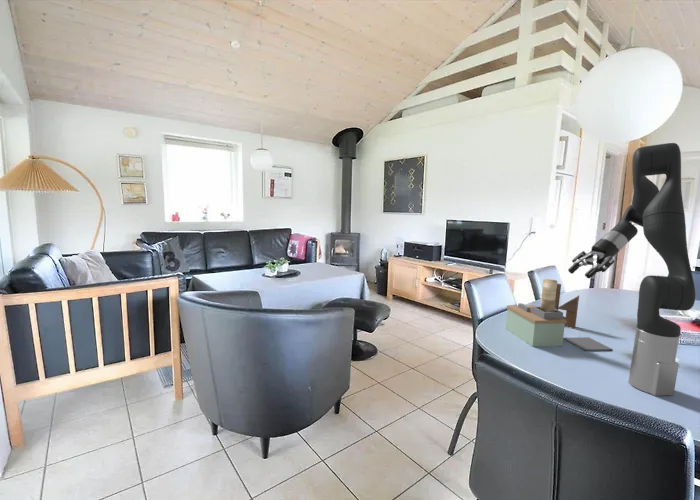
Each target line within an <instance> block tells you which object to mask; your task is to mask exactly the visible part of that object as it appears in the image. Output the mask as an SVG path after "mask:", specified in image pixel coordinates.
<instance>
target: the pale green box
mask: <svg viewBox="0 0 700 500" xmlns="http://www.w3.org/2000/svg"><path fill="white" fill-rule="evenodd" d="M506 309H507V312H506V323H505V329H506V330H507V331H508V332H510V333H511V334H513V336H516V337H518V338H519V339H520V340H521V341H523V342H525V343H527V344H528V345H530V346H531V347H534V348H536V347H563V342H564V339H563V338H564V334H565V327H566V326H565V324H566V322H567V320H565V319H563V316H564V312H563V311H562V310H559V309H558V310H556V309H554V312H544V311H542V310H540V306H537V305H528V304H527V305H526V304H525V303H518V304H516V305H508V304H507V305H506Z"/></svg>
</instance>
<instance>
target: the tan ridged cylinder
mask: <svg viewBox="0 0 700 500" xmlns="http://www.w3.org/2000/svg"><path fill="white" fill-rule="evenodd" d="M557 283H558V280H556V279H552V278H550V279H549V278H544V279H543V281H542V289H541V299H540V305H539V307H540V310H542V311H544V312H554V306H555V298H556V289H557Z"/></svg>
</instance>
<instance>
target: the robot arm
mask: <svg viewBox="0 0 700 500" xmlns="http://www.w3.org/2000/svg"><path fill="white" fill-rule="evenodd" d="M631 164H632V165H631V167H632V168H631V170H632V172H631V173H632V174H631V175H632V185H633V186H632V187H633V195H632V199H631V204H630V205H628V207H627V208H626V210H625V211H624V213H623V215H622V216H621V218H620V219H619V221H618V223H617V224H615V226H614V227H613V228H612V229H611V230H609V231H608V232H606V233H605V234H604V235H603V236H601V238H600V239H599V240H598V241H597V242H595V243H594V244H593V245H592V247H591V250H590V251H589V252H588V253H587V252H585V251H584V250H583V251H581V252H580V253H578V255H576V256H575V257H574V258H572V260H571V262H572V263H573V264H572V265H571V266H570V267H569V268H568V269H567V271H568V272H569V273H570V274H572V275H573V274H574V273H575V272H576V271H578V269H579V268H580V267H587V266H593V267H591V268H590V269H589V270H587V271H586V273H584V276H585V277H586V279H591V278H592V277H593V276H595V275H596V274H597V273H600V272H602V273H604V272H605V273H606V271H607V270H608V269H609V268H611V266H612V265H613V264H614V263H615V259H614V257H615V256H616V255H617V254H618V253H619V252H620V251H621V250H622V249H624V247H625V246H626V245H627V244H628V243H629V242H631V240H633V238H635V236H636V235H638V228H637V227H636V226H635V225H634V224H636V225H637V226H640V227H642V228H643V234H644V237H645V239H646V241H647V242H648V243H649V244H650V246H651V247H652V248H653V249H654V250H655V251H656V252H657V253H658V254H659V256H660V257H661V258H662V259H663V261H664V263H665V265H666V266H667V270H668V275H669V276H664V275H646V276H645V277H643V279H642V280H641V282H640V285H639V292H638V303H637V312H636V315H637V317H636V318H637V319H636V321H637V322H636V329H635V335H634V342H633V348H632V354H631V362H630V367H629V368H630V369H629V376H628V384H629V385H631V386H632V387H634V388H636V389H637V390H639V391H642V392H644V393H647V394H651V395H652V396H654V397H655V396H658V397H659V396H674V395H675V389H676V383H677V378H678V371H679V367H680V365H679V363H678V362H676V360H677V358H676V357H677V353H678V346H679V343H680V342H679V341H680V336H681V330H682V328H681V325H680V324H678V323H676V322H674V321H672V320H669V319H667V318H665V317H662V316H661V315H660V310H669V311H671V310H672V311H681V312H682V311H683V312H684V311H689V310H691V309H692V308H693V307H694V305H695V302H696V286H695V281H694V277H693V272H692V268H691V263H690V258H689V251H688V243H687V231H686V230H687V226H686V215H685V209H684V202H683V193H682V192H683V191H682V154H681V148H680V146H679V144H677V142H669V143H661V144H652V145H647V146H641V147H638V148H637V149H635V150H634V152H633V155H632V163H631ZM658 175H659V176H660V175H665V180H664V183H663V185H662V186H661V188H660V189H659V188H658V186H657V185H656V184H655V183H654V182H653V181H651V180H650V178H648V177H647V176H658Z"/></svg>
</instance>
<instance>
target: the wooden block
mask: <svg viewBox="0 0 700 500" xmlns="http://www.w3.org/2000/svg"><path fill="white" fill-rule="evenodd" d="M561 289H562V284H561V283H559V282H557V289H556V298H555V306H554V309H556V310H558V311H559V310H560V311H565V316H564V315H563V319H565V320H567V322H566V324H565V327H567V328H571V329H574V328H575V327H576V324H577V316H578V308H579V301H580V295H577V296H575V297H574V298H572V299H570V300H569V301H567V302H565V303H564V304H562V305H560V299H561ZM559 305H560V306H559Z"/></svg>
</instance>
